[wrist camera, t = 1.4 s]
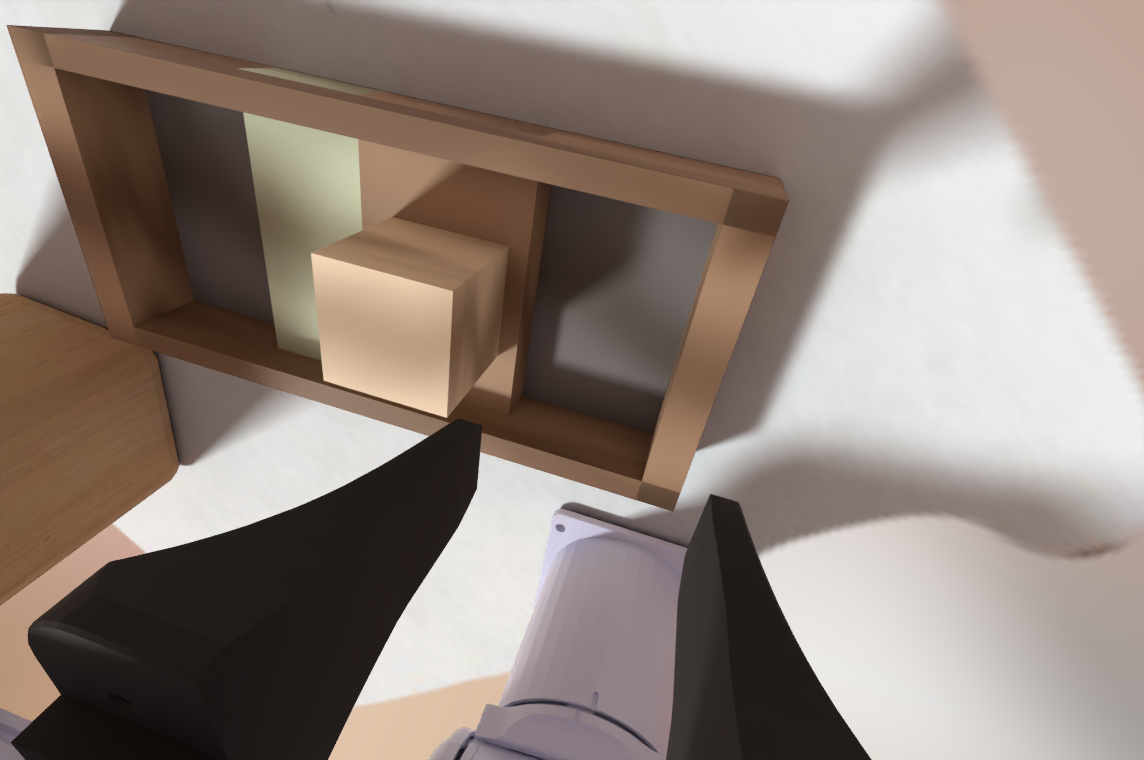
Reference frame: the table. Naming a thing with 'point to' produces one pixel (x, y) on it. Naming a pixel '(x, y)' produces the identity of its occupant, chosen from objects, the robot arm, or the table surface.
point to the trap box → (421, 195)
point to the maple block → (409, 312)
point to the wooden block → (72, 435)
